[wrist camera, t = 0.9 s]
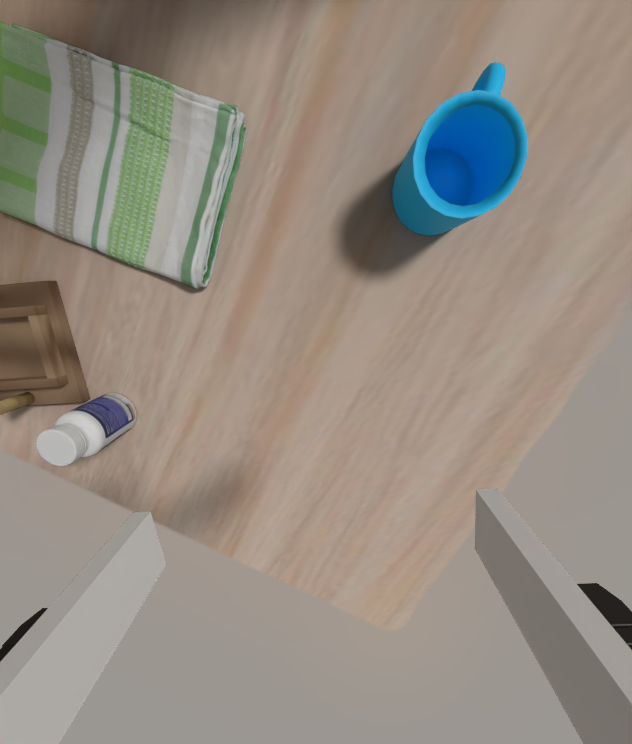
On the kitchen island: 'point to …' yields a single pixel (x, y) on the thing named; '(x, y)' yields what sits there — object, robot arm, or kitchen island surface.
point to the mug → (462, 159)
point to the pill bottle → (87, 429)
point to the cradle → (37, 348)
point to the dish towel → (115, 156)
